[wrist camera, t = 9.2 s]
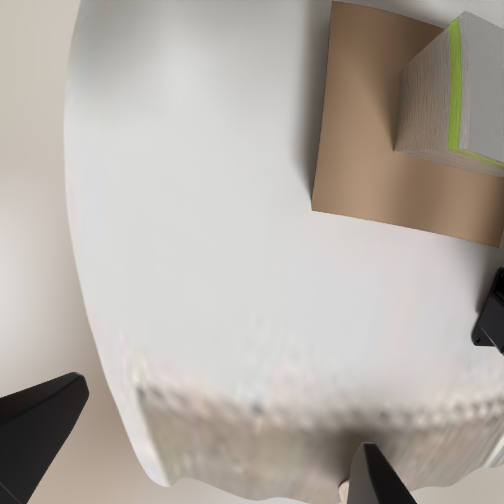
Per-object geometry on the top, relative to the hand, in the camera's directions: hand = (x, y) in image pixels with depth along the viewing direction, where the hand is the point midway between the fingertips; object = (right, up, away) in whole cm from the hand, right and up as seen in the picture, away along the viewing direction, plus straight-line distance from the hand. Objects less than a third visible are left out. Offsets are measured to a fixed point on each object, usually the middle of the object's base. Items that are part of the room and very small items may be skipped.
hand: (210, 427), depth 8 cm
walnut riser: (+11, +13, +8) cm, 19 cm away
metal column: (+11, +12, +5) cm, 17 cm away
